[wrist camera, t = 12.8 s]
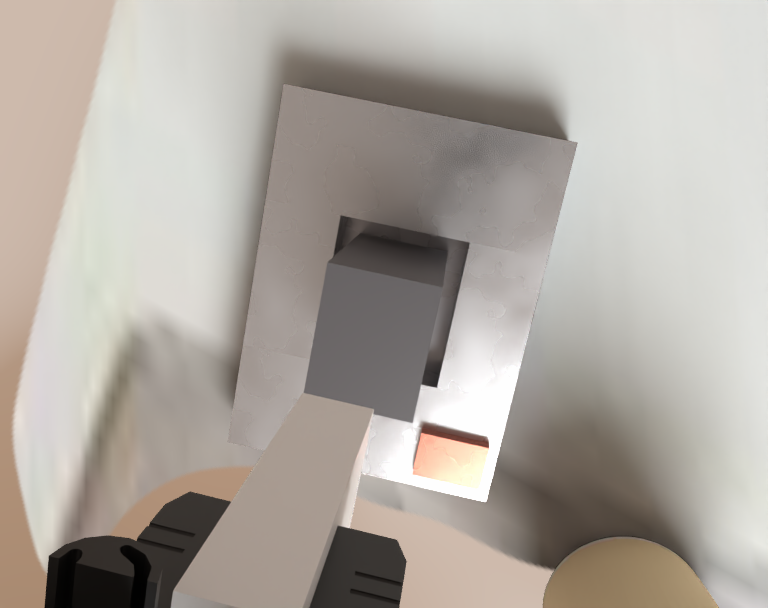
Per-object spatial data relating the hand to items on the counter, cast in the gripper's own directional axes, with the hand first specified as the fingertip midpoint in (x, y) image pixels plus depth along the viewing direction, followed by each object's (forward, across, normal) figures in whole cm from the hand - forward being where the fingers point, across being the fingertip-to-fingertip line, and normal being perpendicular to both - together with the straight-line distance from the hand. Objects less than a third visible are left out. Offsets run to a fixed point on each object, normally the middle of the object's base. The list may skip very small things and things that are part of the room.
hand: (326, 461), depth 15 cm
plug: (+18, 0, -1) cm, 18 cm away
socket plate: (+19, 0, -1) cm, 19 cm away
